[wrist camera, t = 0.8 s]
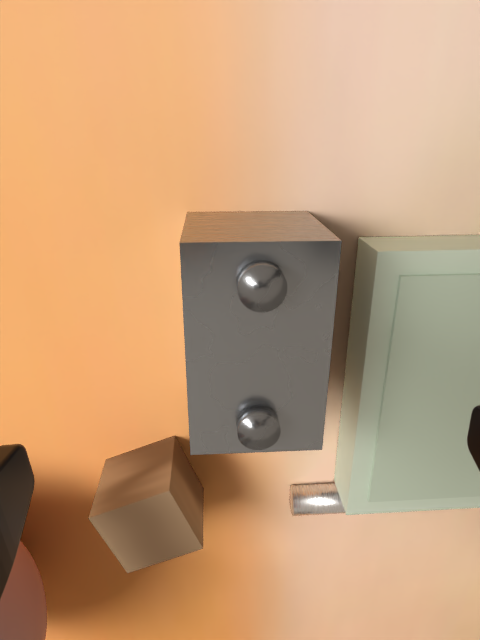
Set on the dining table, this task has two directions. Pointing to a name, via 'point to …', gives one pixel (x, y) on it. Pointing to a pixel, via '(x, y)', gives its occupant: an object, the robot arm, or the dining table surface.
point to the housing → (257, 329)
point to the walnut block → (149, 505)
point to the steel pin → (315, 499)
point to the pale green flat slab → (411, 376)
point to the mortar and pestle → (23, 601)
